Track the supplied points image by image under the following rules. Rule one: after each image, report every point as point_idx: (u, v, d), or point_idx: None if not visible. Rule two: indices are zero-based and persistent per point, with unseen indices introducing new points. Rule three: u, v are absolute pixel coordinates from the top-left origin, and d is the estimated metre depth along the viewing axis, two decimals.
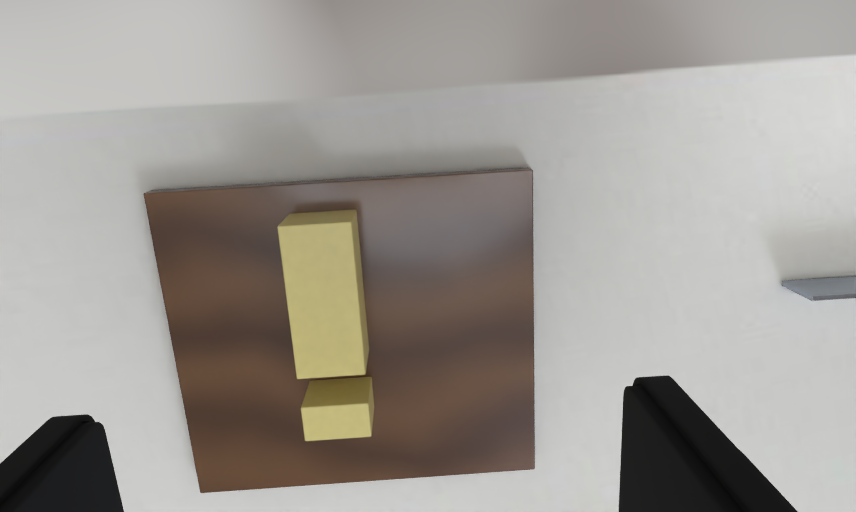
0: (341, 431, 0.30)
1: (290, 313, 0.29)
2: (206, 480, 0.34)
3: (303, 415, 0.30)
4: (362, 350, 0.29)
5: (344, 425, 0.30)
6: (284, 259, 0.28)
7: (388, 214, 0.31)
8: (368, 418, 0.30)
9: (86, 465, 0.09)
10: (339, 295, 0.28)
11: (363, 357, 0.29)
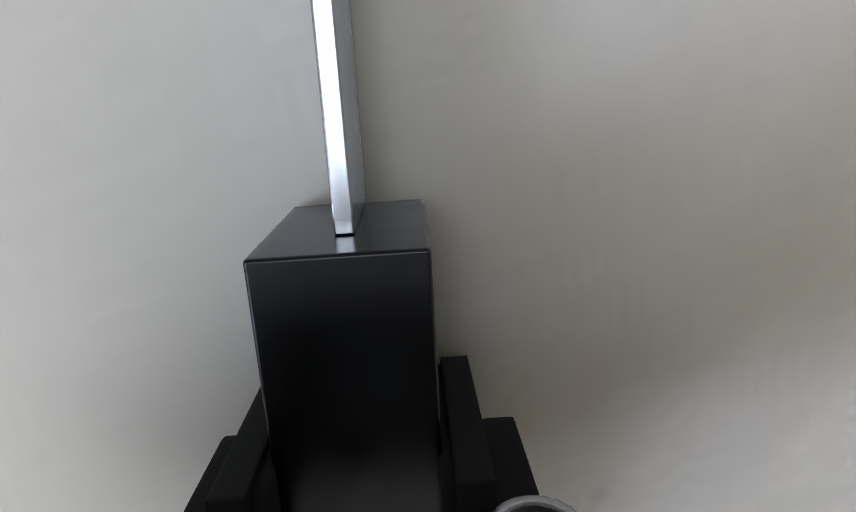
0: None
1: None
2: None
3: None
4: None
5: None
6: None
7: None
8: None
9: None
10: None
11: None
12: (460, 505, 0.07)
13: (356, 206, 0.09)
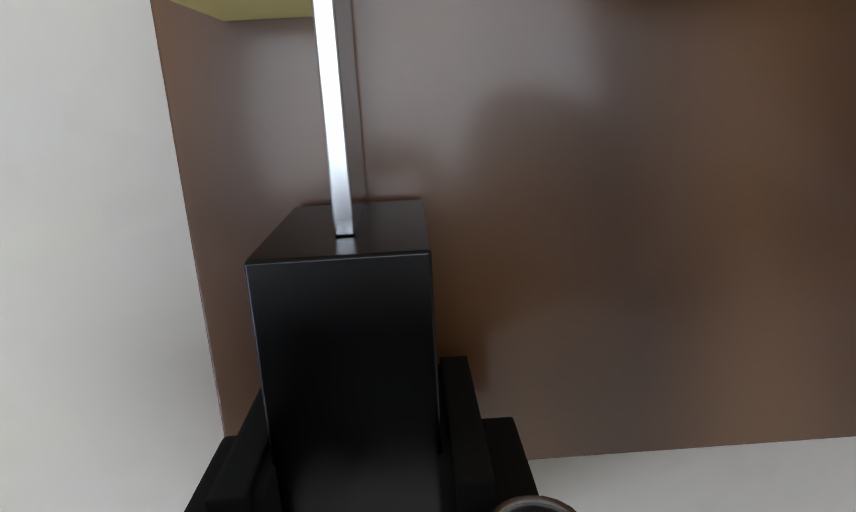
0: None
1: None
2: None
3: None
4: None
5: None
6: None
7: None
8: None
9: None
10: None
11: None
12: (459, 505, 0.07)
13: (356, 207, 0.09)
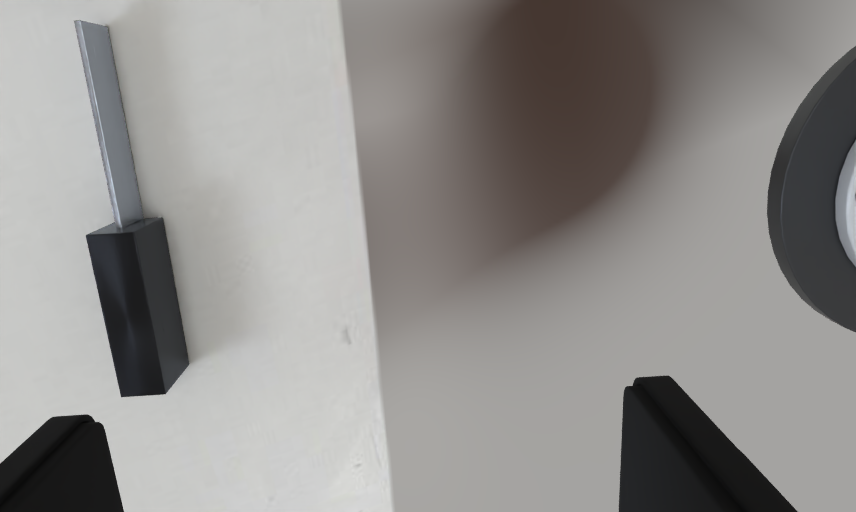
0: None
1: None
2: None
3: None
4: None
5: None
6: None
7: None
8: None
9: (86, 465, 0.09)
10: None
11: None
12: None
13: (126, 220, 0.30)
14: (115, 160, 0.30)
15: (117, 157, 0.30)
